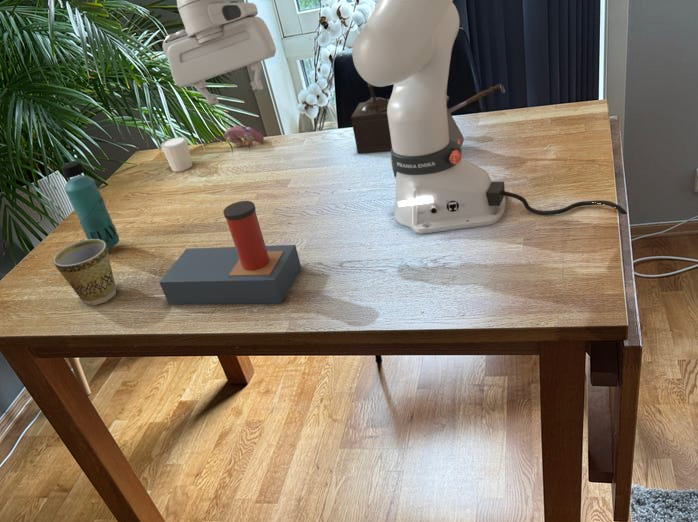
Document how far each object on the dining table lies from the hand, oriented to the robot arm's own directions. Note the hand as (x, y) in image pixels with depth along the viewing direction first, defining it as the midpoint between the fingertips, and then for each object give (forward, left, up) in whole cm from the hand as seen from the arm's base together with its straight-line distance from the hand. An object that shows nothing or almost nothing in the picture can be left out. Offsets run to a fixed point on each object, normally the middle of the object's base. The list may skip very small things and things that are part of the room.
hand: (236, 98), depth 131 cm
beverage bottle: (+37, +6, -28) cm, 47 cm away
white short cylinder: (+39, -37, -28) cm, 60 cm away
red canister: (-6, +22, -23) cm, 32 cm away
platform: (0, +22, -28) cm, 35 cm away
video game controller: (+25, -49, -28) cm, 61 cm away
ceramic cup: (+29, +23, -28) cm, 46 cm away
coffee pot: (-36, -34, -28) cm, 57 cm away
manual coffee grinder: (-15, -45, -28) cm, 55 cm away
